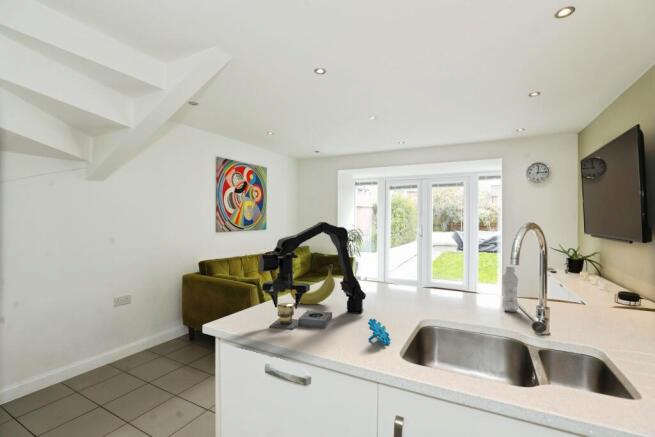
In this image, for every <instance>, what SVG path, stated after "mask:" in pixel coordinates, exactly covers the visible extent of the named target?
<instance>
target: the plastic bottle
mask: <svg viewBox="0 0 655 437" xmlns="http://www.w3.org/2000/svg"><path fill="white" fill-rule="evenodd" d="M504 271H505V273H504V274H503V275H502V277H501V280H502V287H503V288H502V289H503V290H502V291H503V295H502V296H503V297H502V303H501V307H502V309H503V310H504V311H507V312H510V313H514V312H515V313H516V312H517V311H518V310H519V302H518V296H517V295H518V292H517V291H518V284H519V278H518V276H517V274H516V273H515V272H516V268H515V267H514V266H505V270H504Z"/></svg>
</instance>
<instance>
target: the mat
mask: <svg viewBox="0 0 655 437" xmlns="http://www.w3.org/2000/svg"><path fill="white" fill-rule="evenodd" d="M268 327H269V328H272V329H280V330H292V331H293V330H295V329H296V328H297V327H299V326H298V319H296V318H295V319H294V318H292V323H291V324H287V325H282V324H280V317H279V318H278V319H276V320H275V321H274V322H273V323H271V324H270V325H269V326H268Z"/></svg>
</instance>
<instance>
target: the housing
mask: <svg viewBox="0 0 655 437" xmlns="http://www.w3.org/2000/svg"><path fill="white" fill-rule="evenodd" d="M297 320H298V326H297V327H306V328H317V329H326V328H327V327H328V325H329V324H330V323H331V321H332V320H333V312H331V311H322V310H321V311H319V310H306V311H305V312H303V314H302V315H301V316H299V318H298V319H297Z"/></svg>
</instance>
